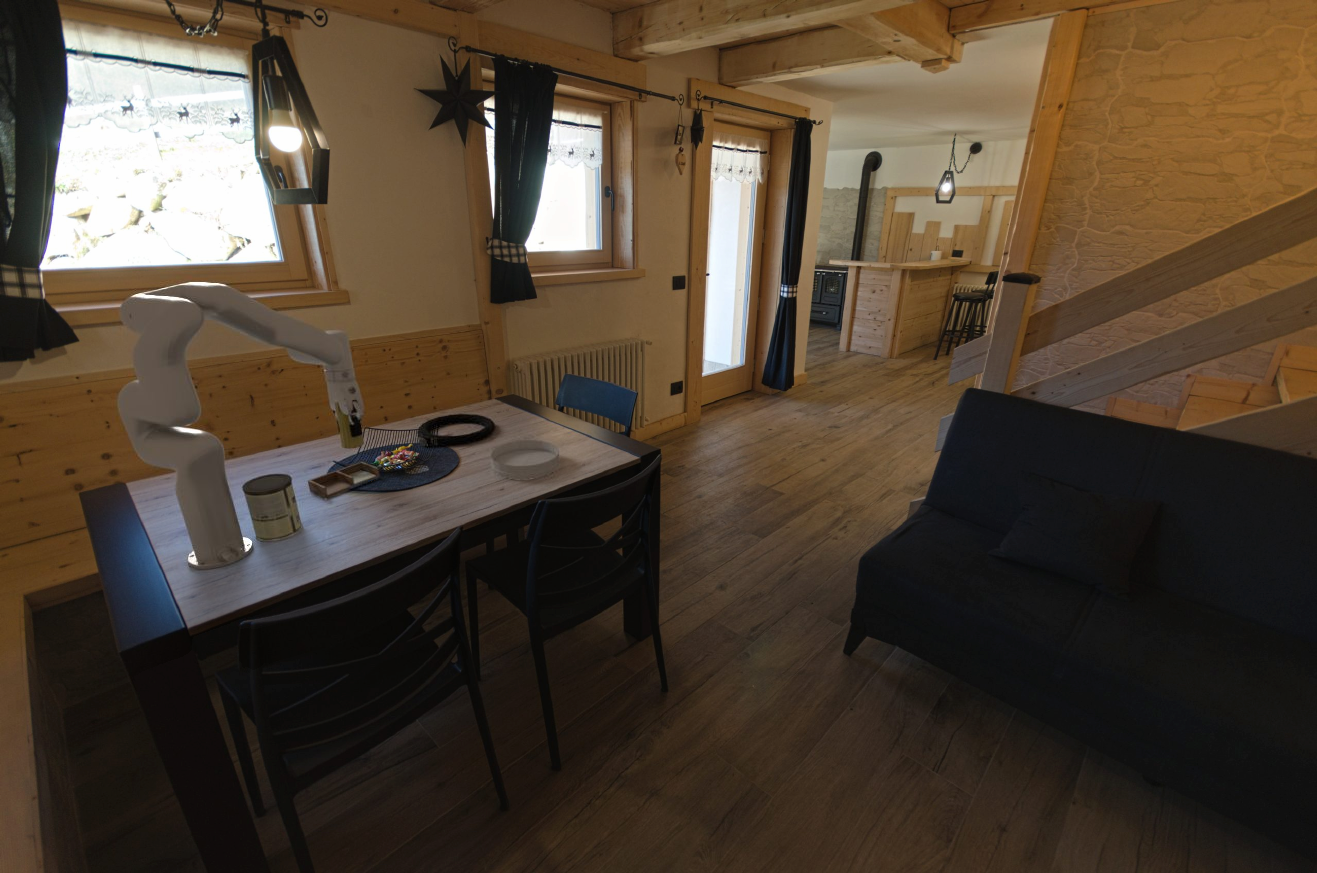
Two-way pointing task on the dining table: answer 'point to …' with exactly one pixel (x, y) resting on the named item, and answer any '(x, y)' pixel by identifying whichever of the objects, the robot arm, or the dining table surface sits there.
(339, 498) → the dining table surface
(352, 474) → the wooden compartment tray
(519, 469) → the dish
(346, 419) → the vase
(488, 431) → the cable lock
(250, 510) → the coffee can
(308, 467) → the dining table surface
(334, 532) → the dining table surface
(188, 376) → the robot arm
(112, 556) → the dining table surface
